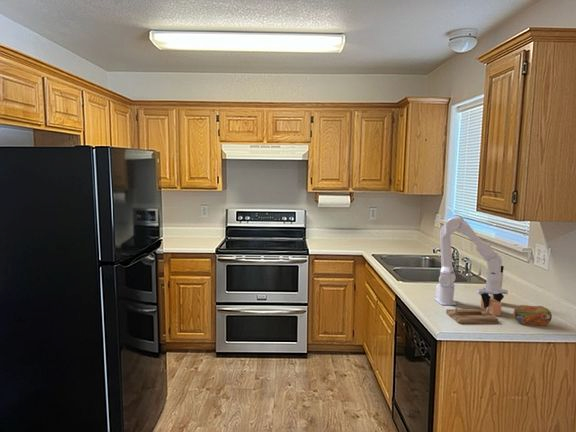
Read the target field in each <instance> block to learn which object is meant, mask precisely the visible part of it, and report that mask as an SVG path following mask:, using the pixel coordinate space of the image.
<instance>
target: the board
mask: <svg viewBox="0 0 576 432" xmlns="http://www.w3.org/2000/svg"><path fill="white" fill-rule="evenodd" d="M489 309H490V308H489V307H487V309H486V311H485V310H484V309H481V308H477V309H476V308H470V309H468V308H467V309H465V308H464V309H463V308H462V309H461V308H460V309H459V308H458V307H454V309H450V308H449V309H448V308H447V309H446V310H445V313H446V315H448V316H449V317H450V318H451V319H452V320H454V321H455V322H456V323H457V324H465V325H466V324H468V325H469V324H498V323H499V318H497V317H496V316H493V315H491V314H490V313H489Z"/></svg>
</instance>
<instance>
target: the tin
mask: <svg viewBox="0 0 576 432" xmlns="http://www.w3.org/2000/svg"><path fill="white" fill-rule="evenodd" d="M513 318H514V320H516V321H517V323H519V324H521V325H525V326H538V325H539V327H540V326H542V327H543V326H546V325H549V324H550V323H551V321H552V318H553V315H552V312H551V311H550V309H548V308H547V307H544V306H542V305H530V304H529V305H528V304H520V305H517V306H516V307H515V308H514V310H513Z"/></svg>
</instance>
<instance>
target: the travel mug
mask: <svg viewBox="0 0 576 432" xmlns="http://www.w3.org/2000/svg"><path fill="white" fill-rule="evenodd" d="M504 267H505V266H504V265H501V277H500V287H499V289H503V281H504V280H503V278H504ZM488 295H489V296H490V297H492V298H493V294H488ZM493 299H494V298H493Z"/></svg>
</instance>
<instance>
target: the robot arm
mask: <svg viewBox="0 0 576 432" xmlns="http://www.w3.org/2000/svg"><path fill="white" fill-rule="evenodd" d="M455 231H458V233H462V234H465V236H467V237H468V239H469V240H470V241H472V243H473V244H474V245H475V247H476V249H475V250H476V251H477V252H478V254H479V255H480V256H481V257H482V258H483V260H484V261H486V264H487V273H486V283H485V287H484V288H478V289H476V292H475V293H476V294H477V295H480V297H481V298H482V299H483V303H484V308H485V309H487V307H489V300H490V298H491V297H490V296H489V295H488V294H493V298H494V299H495V300H497V301H499V302H501V301H502V300H503V299H504V296H505V295H508V294H509V290H508V289H506V288H502V289H499V287H500V277H501V266H503V265H502V264H503V259H502V257H501V255H499V253H497V252H495V250H493V248H492V246H491V244H490V243H488V242H485V241H483V240H482V239H481V238H480V237H479V236H478V235H477V233H476V232H475V231H474V229H473V228H472V227H471V226H470V225H469V223H468V222H467V221H466V220H465V219H464V218H463V217H462V216H461V215H454V216H453V217H450V218H448V219H447V220H446V221H445V222H444V224H443V226H442V227H441V229H440V231H439V244H440V245H439V246H440V247H439V248H440V263H441V268H440V274H439V277H438V282H439V283H438V284H436V287H435V294H434V295H435V297H433V300H434V301H436V302H437V303H438V304H440V305H442V306H456V305H457V302H455V301H454V295H455V283H454V282H455V281H456V278H457V276H456V273H455V271H454V268H453V259H452V258H453V257H452V240H451V239H452V238H451V235H453V234H454V233H455Z"/></svg>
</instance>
